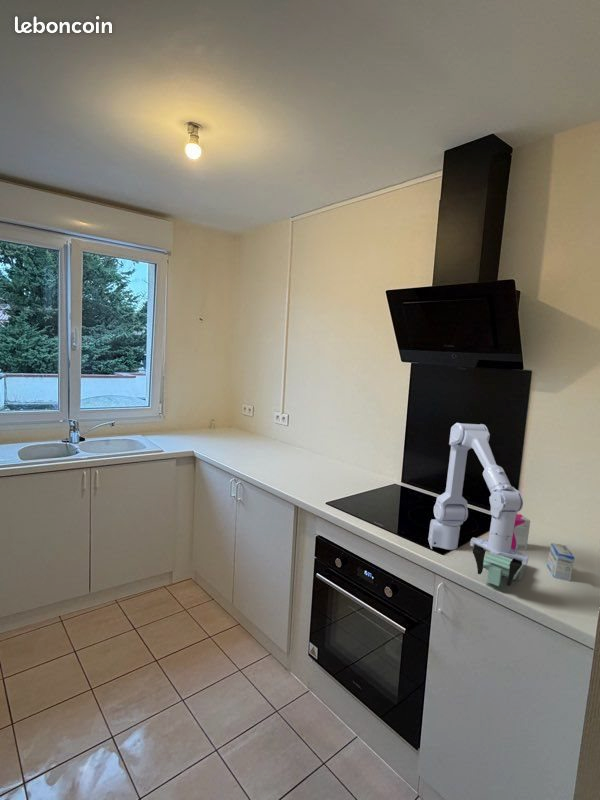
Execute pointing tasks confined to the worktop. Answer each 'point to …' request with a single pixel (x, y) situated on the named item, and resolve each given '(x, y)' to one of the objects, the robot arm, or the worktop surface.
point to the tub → (519, 573)
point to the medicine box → (560, 562)
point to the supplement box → (520, 533)
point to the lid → (497, 568)
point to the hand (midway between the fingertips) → (494, 578)
